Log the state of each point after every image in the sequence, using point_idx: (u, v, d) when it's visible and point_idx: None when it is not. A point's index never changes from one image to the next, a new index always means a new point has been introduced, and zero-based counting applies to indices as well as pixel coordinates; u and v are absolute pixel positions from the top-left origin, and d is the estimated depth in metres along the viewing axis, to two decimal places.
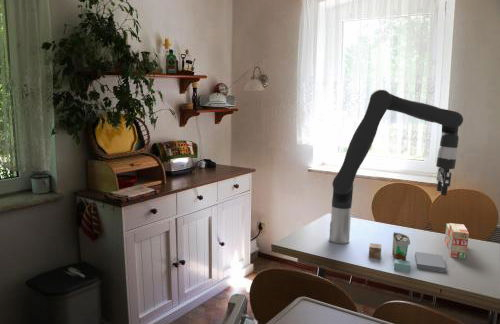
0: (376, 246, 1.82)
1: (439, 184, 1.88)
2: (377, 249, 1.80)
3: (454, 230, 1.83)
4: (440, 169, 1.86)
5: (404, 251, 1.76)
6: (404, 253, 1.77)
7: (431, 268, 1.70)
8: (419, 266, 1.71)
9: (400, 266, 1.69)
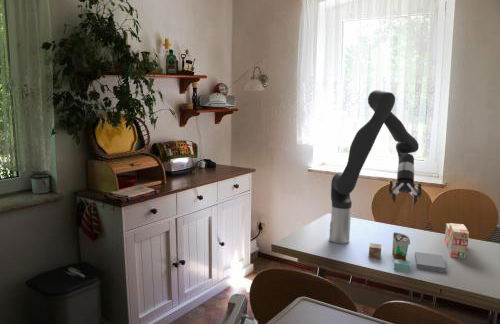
0: (376, 246, 1.82)
1: (395, 195, 1.92)
2: (377, 249, 1.80)
3: (454, 230, 1.83)
4: (397, 182, 1.95)
5: (404, 251, 1.76)
6: (404, 253, 1.77)
7: (431, 268, 1.70)
8: (419, 266, 1.71)
9: (399, 266, 1.69)
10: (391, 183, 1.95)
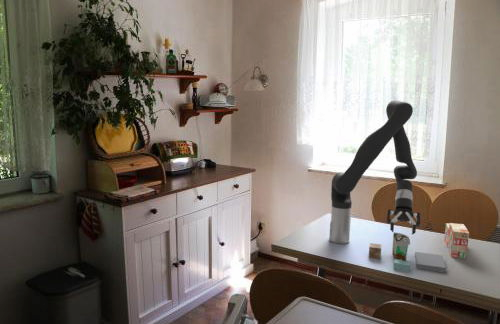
0: (376, 246, 1.82)
1: (393, 224, 1.87)
2: (377, 249, 1.80)
3: (454, 230, 1.84)
4: (396, 210, 1.90)
5: (404, 251, 1.76)
6: (404, 253, 1.77)
7: (431, 268, 1.70)
8: (419, 266, 1.71)
9: (399, 265, 1.69)
10: (389, 211, 1.90)
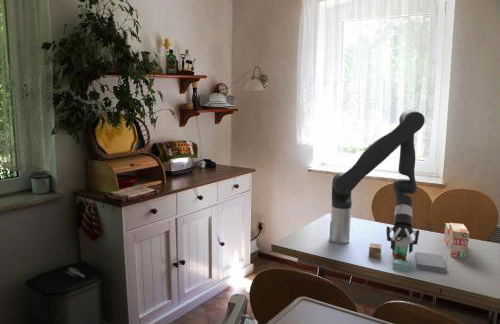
0: (376, 246, 1.82)
1: None
2: (377, 249, 1.80)
3: (454, 230, 1.84)
4: (394, 227, 1.84)
5: (404, 251, 1.76)
6: (404, 253, 1.77)
7: (431, 268, 1.70)
8: (419, 266, 1.71)
9: (399, 265, 1.69)
10: (388, 229, 1.84)
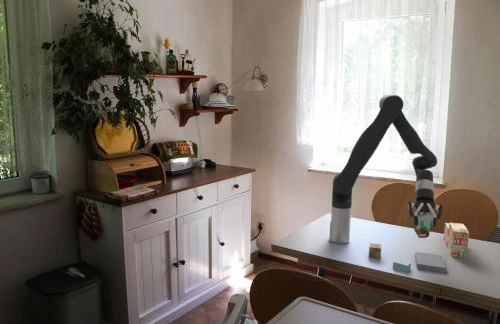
0: (376, 246, 1.82)
1: None
2: (377, 249, 1.80)
3: (454, 229, 1.84)
4: (416, 202, 1.80)
5: (428, 226, 1.71)
6: (428, 228, 1.72)
7: (431, 268, 1.70)
8: (419, 266, 1.71)
9: (398, 265, 1.70)
10: (410, 204, 1.79)
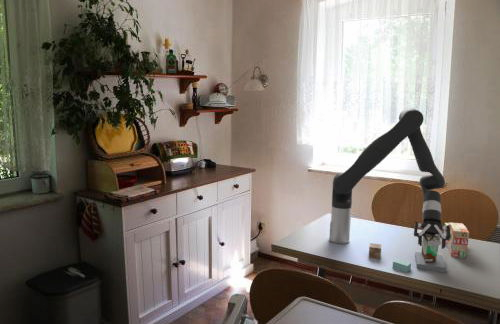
0: (376, 246, 1.82)
1: (421, 238, 1.76)
2: (377, 249, 1.80)
3: (454, 229, 1.84)
4: (423, 223, 1.79)
5: (435, 251, 1.72)
6: (434, 253, 1.72)
7: (431, 268, 1.70)
8: (419, 266, 1.71)
9: (398, 265, 1.70)
10: (416, 224, 1.80)
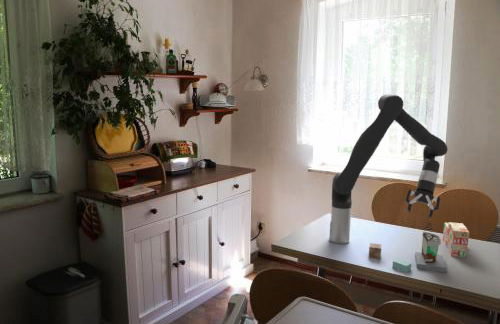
0: (376, 246, 1.82)
1: (411, 206, 1.89)
2: (377, 249, 1.80)
3: (454, 229, 1.85)
4: (416, 191, 1.90)
5: (435, 251, 1.72)
6: (434, 253, 1.72)
7: (431, 268, 1.70)
8: (419, 266, 1.71)
9: (397, 265, 1.70)
10: (409, 192, 1.91)
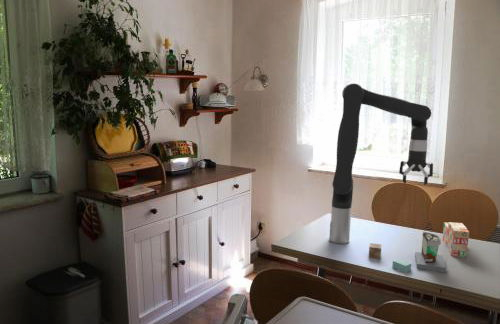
0: (376, 246, 1.82)
1: None
2: (377, 249, 1.80)
3: (454, 229, 1.85)
4: (409, 162, 1.90)
5: (435, 251, 1.72)
6: (434, 253, 1.72)
7: (431, 268, 1.70)
8: (419, 266, 1.71)
9: (397, 265, 1.70)
10: (402, 164, 1.90)
